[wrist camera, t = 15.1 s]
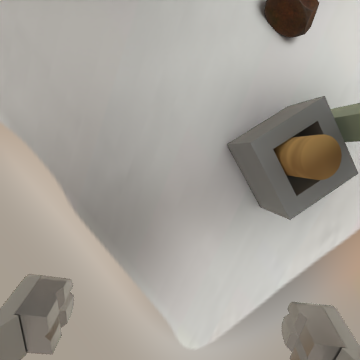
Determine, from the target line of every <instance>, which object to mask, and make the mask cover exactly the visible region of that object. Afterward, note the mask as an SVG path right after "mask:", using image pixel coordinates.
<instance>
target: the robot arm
mask: <svg viewBox="0 0 360 360" xmlns="http://www.w3.org/2000/svg"><path fill="white" fill-rule="evenodd" d="M72 287H73V285H72V280H71V279H66V278H58V277H51V276H42V275H33V274H29V275H27V276H26V277H24V279H23V280H22V281H21V283H20V284H19V285H18V287H17V288H16V289H15V290H14V292H13V293H12V294H11V296H10V297H9V298H8V299H7V301H6V302H5V303H4V304H3V306H2V307H1V308H0V360H21V359H22V358H23V357H24V356H25V355H26V353H37V354H53V352H54V350H55V348H56V346H57V344H58V342H59V340H60V338H61V327H63V326H64V325H65V324H67V322H68V320H69V318H70V316H71V313H72V309H73V304H74V296H73V294H72V293H71V292H70V291H71V289H72ZM288 311H289V314H288V315H287V316H285V317H284V319H283V322H282V335H283V339H284V342H285V345H286V346H287V347H288V348H289V349H290V350H291V351H292V353H291V356H290V360H360V346H359V344H358V343H357V341H356V339H355V338H354V336H353V334H352V333H351V331H350V330H349V328H348V326H347V325H346V323H345V321H344V320H343V318H342V317H341V315H340V313H339V312H338V310H337V309H336V308H335V307H334V306H331V305H320V304H319V305H318V304H311V303H299V302H291V303H290V304H289V306H288Z"/></svg>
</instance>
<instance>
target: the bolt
mask: <svg viewBox="0 0 360 360" xmlns="http://www.w3.org/2000/svg"><path fill="white" fill-rule="evenodd" d="M318 5H319V2H318V1H317V0H267V1H266V5H265V16H266V18H267V21H268V23H269V24H270V25H271V26H272V27H273V29H274V30H275V31H276V32H278V33H279V34H281V35H283V36H285V37H296V36H300V35H304V34H305V33H306V32H307V31H308V30H309V28H310V27H311V25H312V22H313V19H314V16H315V14H316V11H317V8H318Z"/></svg>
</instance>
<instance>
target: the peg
mask: <svg viewBox="0 0 360 360" xmlns="http://www.w3.org/2000/svg"><path fill="white" fill-rule="evenodd" d="M273 150H274V152H275V154H276V156H277V158H278V160H279V162H280V164H281V166H282V168H283V170H284V172H285V174H286V175H287V176H294V177H301V178H308V179H315V180H324V179H327V178H329V177H331V176H332V175H334V174H335V172H336V171H337V170H338V168H339V166H340V163H341V158H342V154H341V148H340V146H339V144H338V142H337V141H336V140H335V139H334V138H333V137H331V136H329V135H324V134H322V135H311V136H301V137H291V138H290V139H288V140H287V141H285V142H284V143H282V144H280V145H279V146H277V147H276V148H274V149H273Z"/></svg>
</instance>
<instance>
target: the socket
mask: <svg viewBox="0 0 360 360" xmlns="http://www.w3.org/2000/svg"><path fill="white" fill-rule="evenodd" d="M322 134H324V135H329V136H331V137H333V138H334V139H335V140H336V141H337V142H338V144H339V146H340V148H341V154H342V158H341V163H340V166H339V168H338V170H337V171H336V172H335V174H334V175H332V176H331V177H329V178H327V179H324V180H315V179H308V178H301V177H294V176H287V175H286V174H285V172H284V170H283V168H282V166H281V164H280V162H279V160H278V158H277V156H276V154H275V152H274V150H273V149H274V148H276V147H277V146H279V145H280V144H282V143H284V142H285V141H287V140H288V139H290V138H291V137H301V136H311V135H322ZM227 146H228V147H229V149H230V151H231V153H232V155H233V157H234V159H235V160H236V162H237V164H238V166H239V168H240V170H241V172H242V173H243V175H244V177H245V179H246V181H247V183H248V185H249V186H250V188H251V190H252V192H253V194H254V196H255V198H256V199H257V201H258V203H259V205H260V207H261V208H264V209H266V210H268V211H271V212H273V213H275V214H278V215H280V216H282V217H285V218H287V219H289V220H291V219H292V218H293V217H295V216H296V215H298V214H299V213H301V212H302V211H304V210H305V209H307V208H308V207H310V206H311V205H313V204H314V203H316V202H317V201H318V200H320V199H321V198H323V197H324V196H326V195H327V194H329V193H330V192H332V191H333V190H335V189H336V188H338V187H339V186H340V185H342V184H343V183H345V182H346V181H348V180H349V179H351V178H352V177H354V176H355V175H357V174H358V172H357V169H356V167H355V165H354V162H353V160H352V158H351V155H350V153H349V151H348V149H347V146H346V144H345V142H344V139H343V137H342V135H341V132H340V130H339V128H338V126H337V123H336V121H335V119H334V116H333V114H332V112H331V109H330V107H329V105H328V103H327V100H326V98H325V96H323V97H319V98H316V99H312V100H309V101H305V102H302V103H298V104H295V105H291V106H288V107H286V108H285V109H283V110H281V111H280V112H278V113H277V114H275V115H273V116H272V117H270V118H269V119H267V120H265V121H264V122H262V123H260V124H259V125H257V126H256V127H254V128H252V129H251V130H249V131H248V132H246V133H244V134H243V135H241V136H240V137H238V138H236V139H235V140H233V141H232V142H230V143H228V144H227Z"/></svg>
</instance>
